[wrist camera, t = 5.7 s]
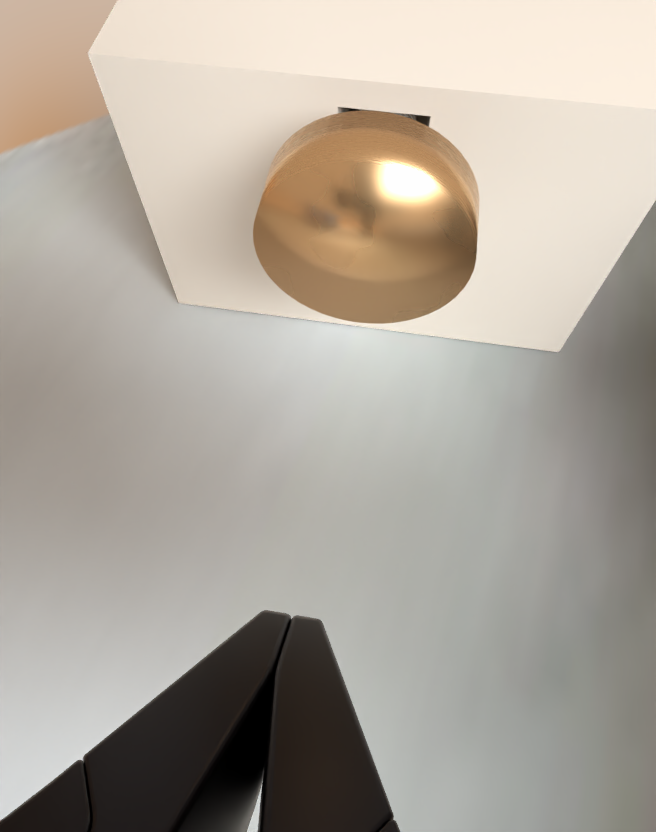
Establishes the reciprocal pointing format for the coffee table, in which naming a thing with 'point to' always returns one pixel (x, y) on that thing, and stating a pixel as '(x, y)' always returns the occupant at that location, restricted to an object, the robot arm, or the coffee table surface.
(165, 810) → the robot arm
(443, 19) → the press block
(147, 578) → the coffee table surface
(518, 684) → the coffee table surface
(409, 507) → the coffee table surface
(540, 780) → the coffee table surface
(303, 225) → the plunger
